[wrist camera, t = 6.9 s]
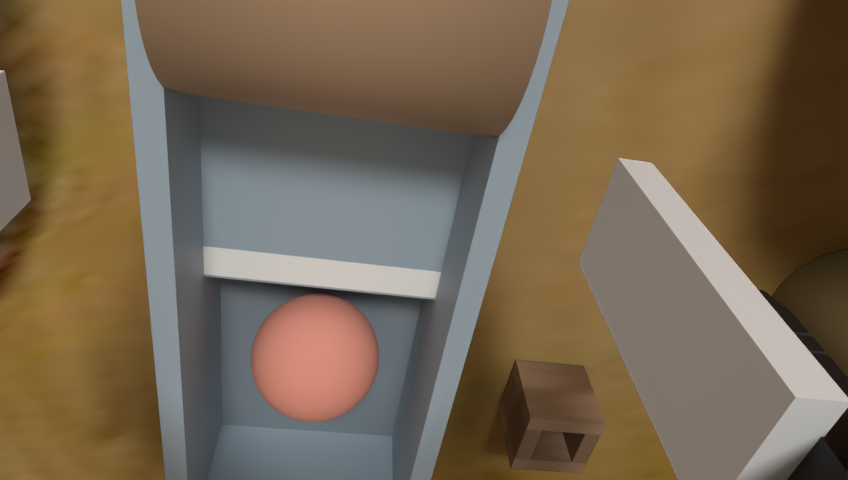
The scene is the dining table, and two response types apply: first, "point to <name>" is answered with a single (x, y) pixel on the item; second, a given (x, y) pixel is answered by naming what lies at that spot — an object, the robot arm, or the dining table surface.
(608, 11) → the dining table surface
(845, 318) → the cork
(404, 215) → the long open box
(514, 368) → the hollow square tube
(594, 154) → the dining table surface
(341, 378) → the ball
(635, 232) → the robot arm
